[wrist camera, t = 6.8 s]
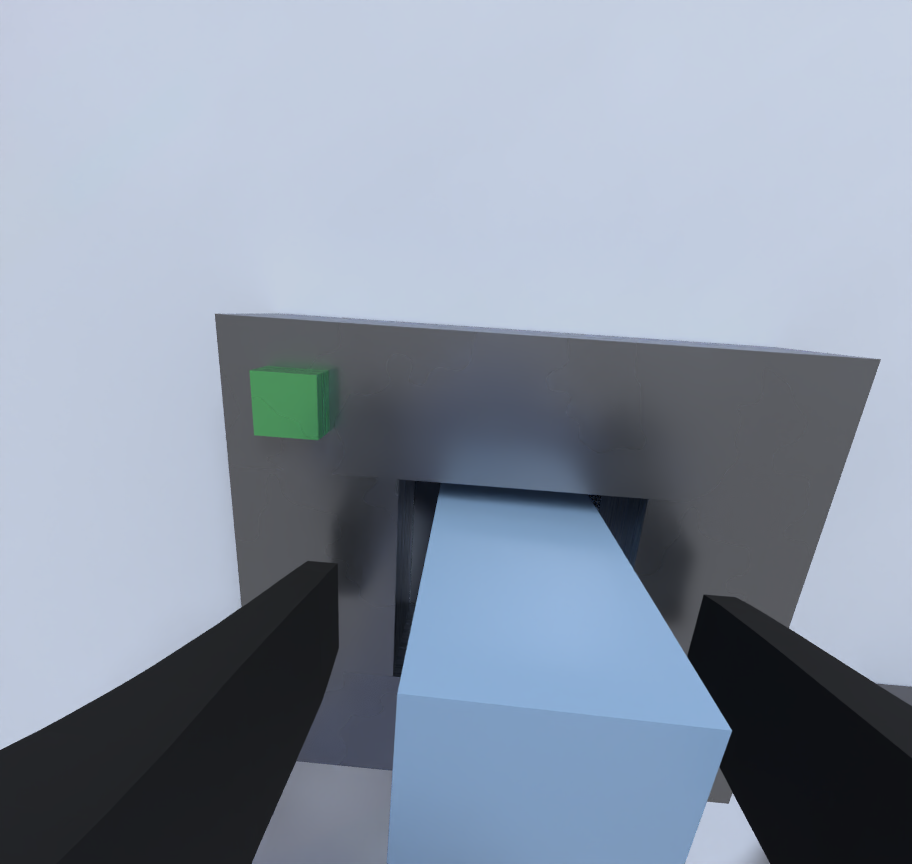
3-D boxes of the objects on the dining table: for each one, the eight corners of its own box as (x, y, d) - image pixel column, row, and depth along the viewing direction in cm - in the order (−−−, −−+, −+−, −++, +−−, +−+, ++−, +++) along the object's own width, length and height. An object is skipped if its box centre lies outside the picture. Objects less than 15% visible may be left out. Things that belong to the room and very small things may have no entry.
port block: (680, 708, 13) (743, 831, 10) (297, 673, 13) (243, 782, 10) (778, 347, 10) (915, 363, 7) (278, 313, 10) (194, 313, 7)
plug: (556, 589, 12) (657, 939, 5) (435, 576, 12) (383, 905, 5) (576, 476, 11) (732, 730, 4) (445, 463, 11) (397, 693, 4)
